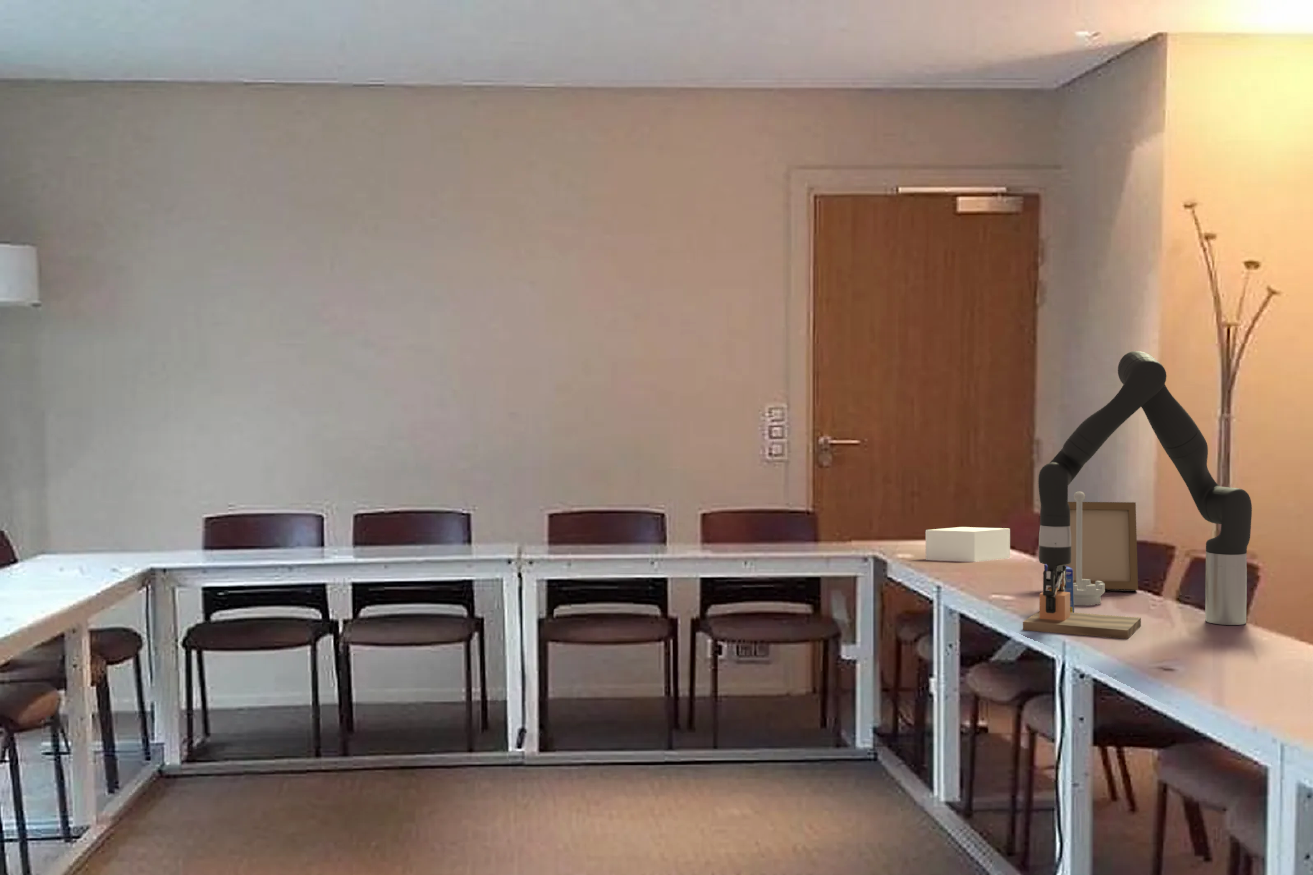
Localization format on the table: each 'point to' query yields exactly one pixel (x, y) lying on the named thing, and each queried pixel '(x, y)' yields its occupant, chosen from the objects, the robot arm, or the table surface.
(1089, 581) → the flag stand
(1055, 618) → the orange cube
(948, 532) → the white rectangular box
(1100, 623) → the base plate
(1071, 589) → the ink cartridge box
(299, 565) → the table surface
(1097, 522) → the photo frame
